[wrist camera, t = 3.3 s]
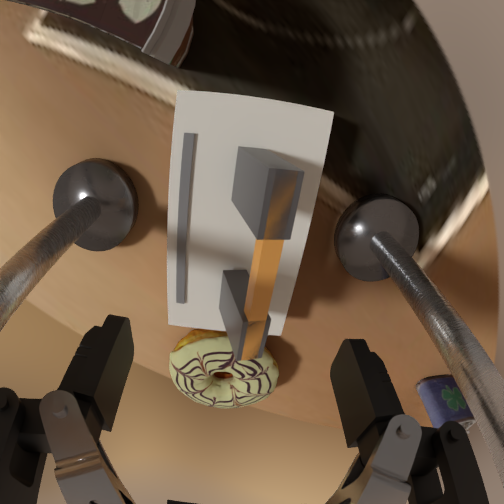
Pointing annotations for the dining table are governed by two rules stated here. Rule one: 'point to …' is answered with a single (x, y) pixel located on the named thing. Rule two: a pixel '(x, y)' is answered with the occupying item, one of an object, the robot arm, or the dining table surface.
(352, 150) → the dining table surface
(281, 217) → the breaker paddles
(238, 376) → the decorated donut
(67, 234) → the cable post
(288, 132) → the switch panel
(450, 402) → the flask
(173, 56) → the food container
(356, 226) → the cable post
